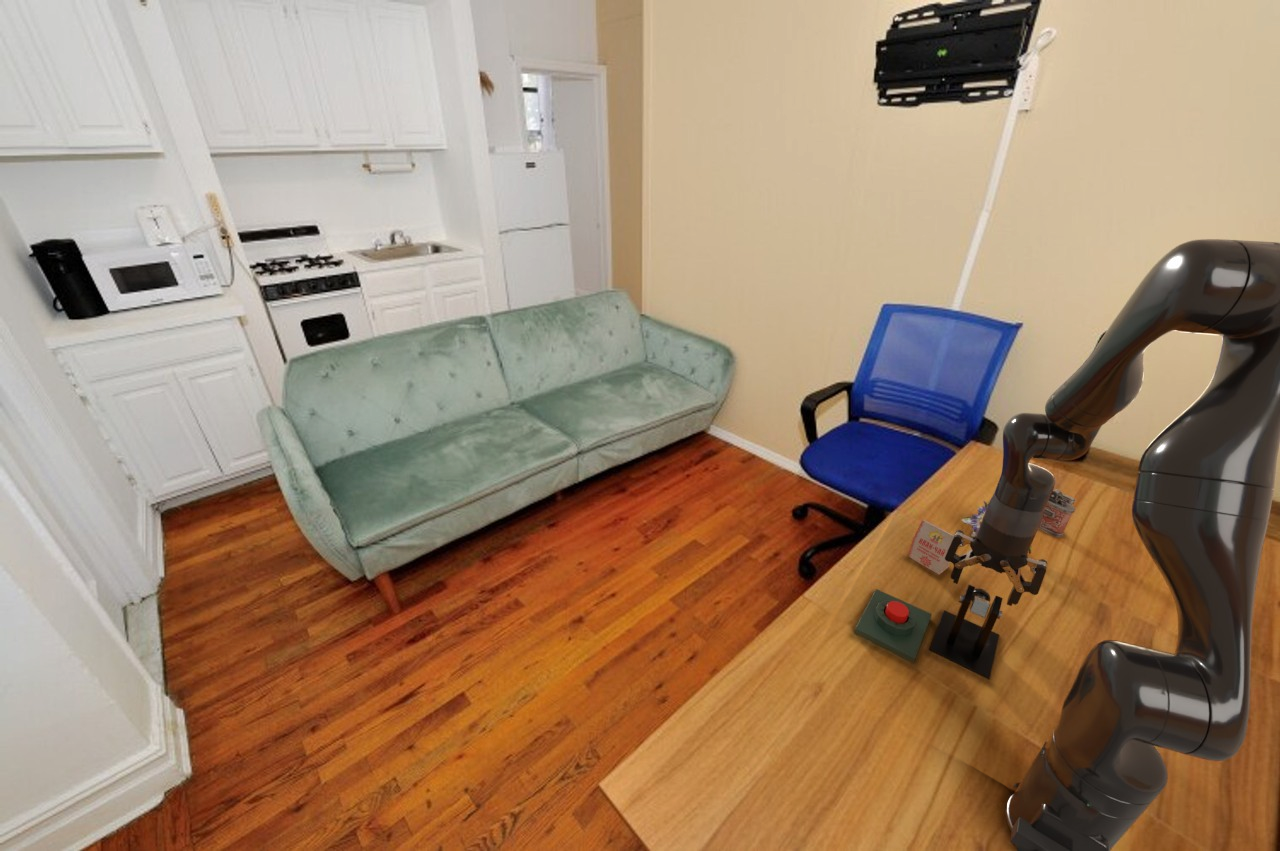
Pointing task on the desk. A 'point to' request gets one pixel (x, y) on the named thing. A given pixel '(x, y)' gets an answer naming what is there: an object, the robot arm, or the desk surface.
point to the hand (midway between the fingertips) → (982, 591)
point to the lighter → (1057, 513)
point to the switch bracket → (968, 637)
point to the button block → (893, 627)
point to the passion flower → (978, 521)
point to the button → (896, 612)
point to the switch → (980, 602)
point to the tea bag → (931, 547)
